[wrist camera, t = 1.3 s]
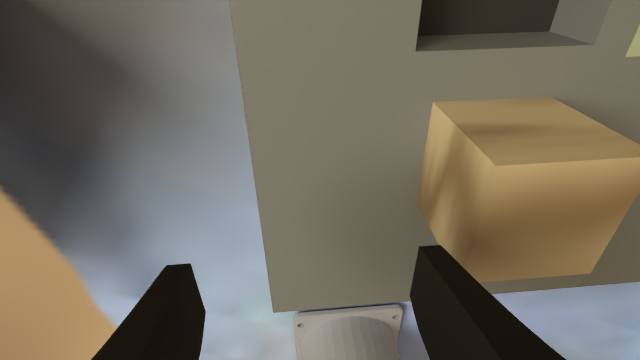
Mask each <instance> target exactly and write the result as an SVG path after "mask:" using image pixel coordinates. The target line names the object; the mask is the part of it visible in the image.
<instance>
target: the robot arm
mask: <svg viewBox="0 0 640 360" xmlns="http://www.w3.org/2000/svg"><path fill="white" fill-rule="evenodd" d="M410 299H411V303H412V307H413V311H414V315H415V318H416V322H417V325H418V329H419V332H420V335H421V337H422V340H423V342H424V345H425V348H426V350H427V353H428V355H429V358H430V360H566V359H565V358H563V357H562V356H561V355H560V354H558V353H557V352H556V351H555V350H553V349H552V348H551V347H550V346H549V345H547V344H546V343H545V342H544V341H543V340H541V339H540V338H539V337H538V336H537V335H536V334H534V333H533V332H532V331H531V330H530V329H529V328H527V327H526V326H525V325H524V324H523V323H522V322H521V321H519V320H518V319H517V318H516V317H515V316H514V315H513V314H512V313H511V312H509V311H508V310H507V309H506V308H505V307H504V306H503V305H502V304H501V303H500V302H499V301H498V300H497V299H495V298H494V297H493V296H492V295H491V294H490V293H489V292H488V291H487V290H486V289H485V288H484V287H483V286H482V285H481V284H480V283H479V282H478V281H477V280H476V279H475V278H474V277H473V276H472V275H471V274H470V273H469V272H468V271H467V270H465V269H464V268H463V267H462V266H461V265H460V264H459V263H458V262H457V261H456V260H455V259H454V258H453V257H452V256H451V255H450V254H449V253H448V252H447V251H446V250H445V249H444V248H443V247H442V246H441V245H431V246H419V249H418V254H417V259H416V264H415V269H414V274H413V280H412V285H411V290H410ZM205 313H206V312H205V309H204V306H203V302H202V299H201V296H200V293H199V289H198V286H197V283H196V280H195V277H194V273H193V270H192V267H191V264H177V265H167V266H166V267H165V268H164V269H163V270H162V271H161V273H160V274H159V275H158V277H157V278H156V279H155V281H154V282H153V283H152V285H151V286H150V287H149V289H148V290H147V291H146V293H145V294H144V295H143V296H142V298H141V299H140V300H139V302H138V303H137V304H136V305H135V307H134V308H133V309H132V311H131V312H130V313H129V314H128V316H127V317H126V318H125V319H124V321H123V322H122V323H121V324H120V326H119V327H118V328H117V329H116V331H115V332H114V333H113V334H112V336H111V337H110V338H109V339H108V341H107V342H106V343H105V344H104V345H103V346H102V348H101V349H100V350H99V351H98V352H97V354H96V355H95V356H94V357H93V358H92V359H91V360H199V356H200V351H201V345H202V338H203V330H204V322H205ZM402 315H403V309H402V306H401V305H398V304H394V305H383V306H371V307H359V308H348V309H336V310H324V311H313V312H301V313H297V314H295V315H294V330H295V341H296V352H297V360H400V358H399V354H398V351H397V342H398V337H399V331H400V326H401V320H402Z"/></svg>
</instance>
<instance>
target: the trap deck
mask: <svg viewBox="0 0 640 360" xmlns="http://www.w3.org/2000/svg"><path fill="white" fill-rule="evenodd" d="M229 3H230V10H231V17H232V24H233V32H234V39H235V46H236V53H237V60H238V67H239V74H240V81H241V88H242V95H243V102H244V109H245V116H246V123H247V131H248V138H249V145H250V152H251V159H252V166H253V173H254V180H255V187H256V194H257V201H258V208H259V215H260V222H261V229H262V237H263V244H264V251H265V258H266V265H267V272H268V279H269V286H270V293H271V300H272V307H273V313H275V312H287V311H299V310H310V309H322V308H334V307H346V306H357V305H369V304H381V303H393V302H405V301H411V299H410V290H411V285H412V280H413V274H414V269H415V264H416V259H417V254H418V249H419V246H431V245H439V244H438V242H437V241H436V239H435V237H434V235H433V233H432V231H431V229H430V227H429V225H428V224H427V222H426V220H425V218H424V216H423V214H422V212H421V210H420V208H419V207H418V205H417V203H416V199H417V193H418V187H419V181H420V175H421V169H422V163H423V157H424V152H425V146H426V140H427V134H428V128H429V122H430V116H431V110H432V104H433V102H450V101H471V100H492V99H513V98H534V97H553V98H554V99H556V100H558V101H560V102H562V103H564V104H566V105H567V106H569V107H571V108H573V109H575V110H577V111H578V112H580V113H582V114H584V115H586V116H588V117H589V118H591V119H593V120H595V121H597V122H599V123H601V124H602V125H604V126H606V127H608V128H610V129H612V130H613V131H615V132H617V133H619V134H621V135H623V136H624V137H626V138H628V139H630V140H632V141H634V142H636V143H637V144H639V145H640V0H229ZM628 282H640V191H639V193H638V194H637V196H636V198H635V200H634V201H633V203H632V205H631V206H630V208H629V210H628V211H627V213H626V215H625V216H624V218H623V220H622V221H621V223H620V225H619V226H618V228H617V230H616V231H615V233H614V235H613V236H612V238H611V240H610V241H609V243H608V245H607V246H606V248H605V250H604V251H603V253H602V255H601V256H600V258H599V260H598V262H597V263H596V265H595V267H594V268H593V270H592V272H591V273H590V274H579V275H567V276H555V277H543V278H531V279H519V280H507V281H494V282H482V283H480V284H481V285H482V286H483V287H484V288H485V289H486V290H487V291H488V292H489V293H490V294H499V293H510V292H522V291H534V290H546V289H557V288H569V287H581V286H593V285H604V284H616V283H628Z"/></svg>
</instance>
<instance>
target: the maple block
mask: <svg viewBox="0 0 640 360" xmlns="http://www.w3.org/2000/svg"><path fill="white" fill-rule="evenodd" d="M639 191H640V145H639V144H637V143H636V142H634V141H632V140H630V139H628V138H626V137H624V136H623V135H621V134H619V133H617V132H615V131H613V130H612V129H610V128H608V127H606V126H604V125H602V124H601V123H599V122H597V121H595V120H593V119H591V118H589V117H588V116H586V115H584V114H582V113H580V112H578V111H577V110H575V109H573V108H571V107H569V106H567V105H566V104H564V103H562V102H560V101H558V100H556V99H554V98H553V97H534V98H513V99H492V100H471V101H450V102H433V104H432V110H431V116H430V122H429V128H428V134H427V140H426V146H425V152H424V157H423V163H422V169H421V175H420V181H419V187H418V193H417V199H416V203H417V205H418V207H419V208H420V210H421V212H422V214H423V216H424V218H425V220H426V222H427V224H428V225H429V227H430V229H431V231H432V233H433V235H434V237H435V239H436V241H437V242H438V244H439V245H441V246H442V247H443V248H444V249H445V250H446V251H447V252H448V253H449V254H450V255H451V256H452V257H453V258H454V259H455V260H456V261H457V262H458V263H459V264H460V265H461V266H462V267H463V268H464V269H465V270H467V271H468V272H469V273H470V274H471V275H472V276H473V277H474V278H475V279H476V280H477V281H478V282H479V283H482V282H494V281H507V280H519V279H531V278H543V277H555V276H567V275H579V274H590V273H591V272H592V270H593V268H594V267H595V265H596V263H597V262H598V260H599V258H600V256H601V255H602V253H603V251H604V250H605V248H606V246H607V245H608V243H609V241H610V240H611V238H612V236H613V235H614V233H615V231H616V230H617V228H618V226H619V225H620V223H621V221H622V220H623V218H624V216H625V215H626V213H627V211H628V210H629V208H630V206H631V205H632V203H633V201H634V200H635V198H636V196H637V194H638V193H639Z"/></svg>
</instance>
